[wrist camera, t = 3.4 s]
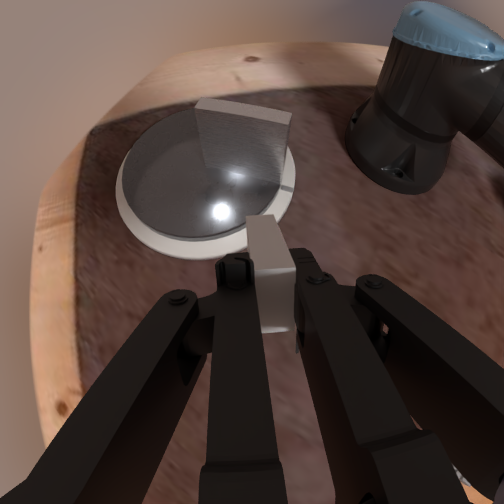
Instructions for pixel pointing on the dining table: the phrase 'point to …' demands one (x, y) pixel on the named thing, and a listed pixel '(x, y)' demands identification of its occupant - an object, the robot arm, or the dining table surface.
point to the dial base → (203, 248)
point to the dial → (207, 169)
